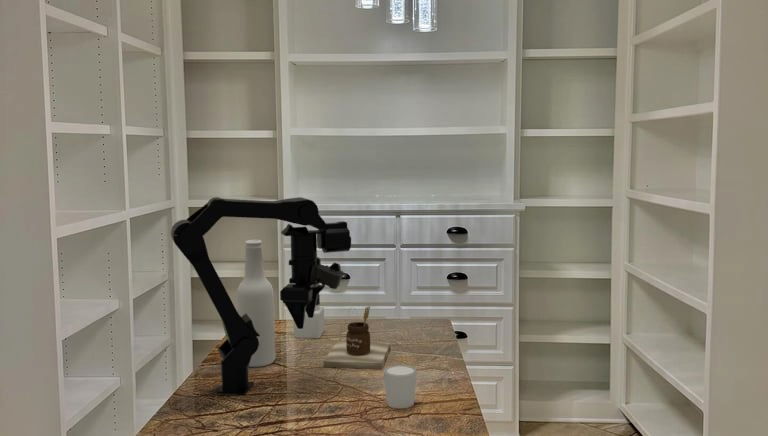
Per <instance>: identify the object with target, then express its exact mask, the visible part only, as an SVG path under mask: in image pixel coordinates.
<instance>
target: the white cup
mask: <svg viewBox="0 0 768 436" xmlns="http://www.w3.org/2000/svg"><path fill="white" fill-rule="evenodd" d="M417 372H418V370H417V368H415V367H414V366H413V367H412V366H409V365H404V364H403V365H401V364H400V365H399V364H398V365H390V366H387V367H386V368H384V369H383V379H384V391H385V399H386V405H387V407H389V408H392V409H400V410H401V409H408V408H411V407H413V406H414V405H415V397H416V387H417V386H416V385H417Z"/></svg>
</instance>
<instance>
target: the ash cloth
mask: <svg viewBox="0 0 768 436" xmlns="http://www.w3.org/2000/svg"><path fill="white" fill-rule="evenodd" d="M390 350H391V342H381V341H380V342H379V341H378V342H377V341H376V342H375V341H370V352H369V353H368V354H365V355H351V354H348V352H347V348H346V340H345V341H343V340H342V341H341V340H337V341H336V343H334V345H333V346H332V348H331V349H330V351H329V352H328V353H327V355H326V357H325V358H324V360H323V368H333V367H336V368H337V369H339V368H340V369H363V370H366V369H367V370H383V367H384V365H385V362H386V360H387V357H388V355H389V353H390Z"/></svg>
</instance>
